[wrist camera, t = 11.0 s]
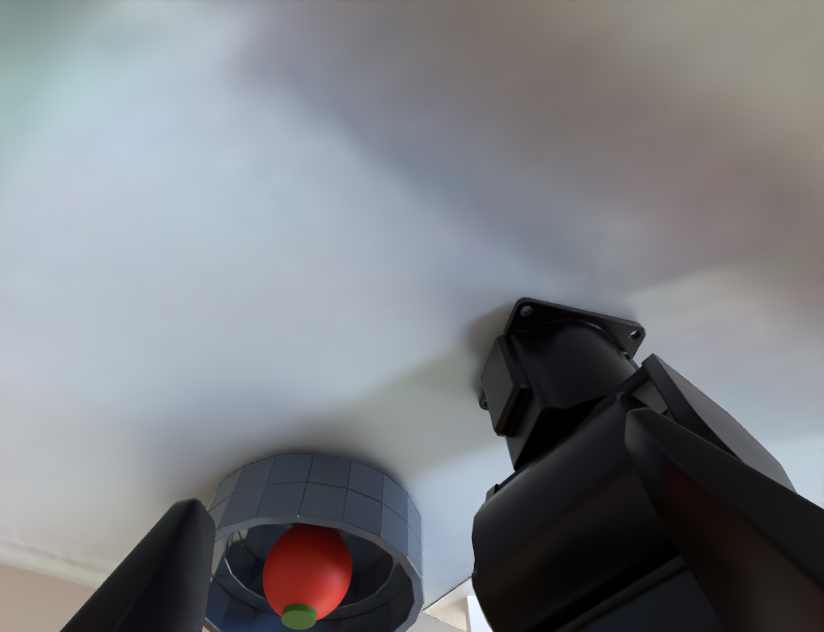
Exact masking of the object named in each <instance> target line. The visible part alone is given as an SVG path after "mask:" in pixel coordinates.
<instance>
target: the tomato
mask: <svg viewBox="0 0 824 632" xmlns="http://www.w3.org/2000/svg"><path fill="white" fill-rule="evenodd" d="M351 576H352V558H351V553H350V550H349V547H348V545H347V543H346V541H345V540H344V538H343V537H342V536H341V535H340V534H339V531H338V528H331V527H324V526H318V525H311V524H305V523H296V525H295V526H294V527H292V528H290V529H289V530H287V531H286V532H285V533H283V534H282V535H281V536H280V537H279V538H278V539H277V540H276V542H275V543H274V544H273V546H272V547H271V549H270V551H269V553H268V555H267V558H266V560H265V564H264V568H263V588H264V592H265V595H266V598H267V600H268V602H269V604H270V606H271V607H272V608H273V610H274V611H275V612H276V613H277V614H278V615H280V616H281V621H282V623H283V624H284V625H285V626H287V627H289V628H292V629H297V630H303V629H308V628H310V627H312V626H313V625H314V624H315V622H316V620H319V619H321V618H323V617H325V616H326V615H328V614H329V613H331V612H332V611H333V610H334V609H335V608H336V607H337V606H338V605H339V604H340V602H341V601H342V599H343V598H344V596H345V594H346V592H347V590H348V588H349V585H350V581H351Z"/></svg>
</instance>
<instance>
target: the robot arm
mask: <svg viewBox="0 0 824 632" xmlns="http://www.w3.org/2000/svg"><path fill="white" fill-rule="evenodd" d="M525 306H530V309H529V310H528V311H526V312H522V311H521V310H522V308H523V307H525ZM635 330H637V331H636V333H635V334H633V335H630V334H631V332H633V331H635ZM645 335H646V331H645V329H644V328H643V327H642V326H641V325H640V324H639V323H637V322H634V321H629V320H625V319H620V318H616V317H612V316H607V315H603V314H598V313H594V312H589V311H585V310H581V309H576V308H572V307H567V306H563V305H559V304H554V303H550V302H545V301H541V300H536V299H532V298H521V299H519V300H518V301H517V302H516V303H515V305H514V308H513V310H512V313H511V315H510V318H509V320H508V323H507V325H506V328H505V330H504V333H503V335H500V336H499V337H497V338H496V340H495V342H494V345H493V348H492V350H491V353H490V355H489V358H488V360H487V363H486V366H485V368H484V371H483V373H482V376H481V380H482V384H483V386H482V389H481V391H480V394H479V397H478V401H479V405H480V407H481V408H482V409H484V410H488V411H489V413H490V417H491V421H492V425H493V429H494V431H495V432H496V434H497V436H502V437H505V439H506V443H507V446H508V450H509V454H510V457H511V461H512V465H513V468H514V470H515V472H514V473H513V474H512V475H511V476H509V477H508V478H507V479H506V480H505V481H503V482H502V483H501V484H500V485H499V484H496V485H495V486H493V487H492V488H491V489H490V490H489V491H487V494H486V500H485V503H483V504H482V506H481V507H480V509H479V510H478V512H477V513H476V515H475V517H474V523H473V531H472V544H473V551H474V557H475V562H474V573H473V574H472V577H471V580H472V587H473V590H474V593H475V595H476V598H477V600H478V603H479V606H480V608H481V611H482V613H483V615H484V617H485V619H486V622H487V623H488V625H489V627H490V628H491V630H492V632H824V509H822V508H821V507H819V506H817V505H816V504H814V503H812V502H810V501H809V500H807V499H805V498H804V497H802V496H800V495H799V494H797V492H796V490H795V489H794V487H793V485H792V483H791V482H790V480H789V478H788V476H787V474H786V473H785V471H784V469H783V467H782V466H781V464H780V463H779V462H778V461H777V460H776V459H775V458H774V457H773V456H772V455H771V454H770V453H769V452H768V451H767V450H766V449H765V448H764V447H763V446H762V445H761V444H760V443H759V442H758V441H757V440H756V439H755V438H754V437H753V436H752V435H751V434H750V433H749V432H748V431H747V430H746V429H745V428H743V427H742V426H741V425H740V424H739V423H738V422H737V421H736V420H735V419H734V418H733V417H732V416H731V415H730V414H729V413H728V412H726V411H725V410H724V409H723V408H721V407H720V406H719V405H718V404H716V403H715V402H714V401H713V400H711V399H710V398H709V397H708V396H706V395H705V394H704V393H703V392H701V391H700V390H699V389H698V388H696V387H695V386H694V385H693V384H691V383H690V382H689V381H688V380H686V379H685V378H684V377H683V376H681V375H680V374H679V373H678V372H676V371H675V370H674V369H673V368H671V367H670V366H669V365H668V364H666V363H665V362H664V361H663V360H662V359H660V358H659V357H658V356H657V355H655V354H654V353H653V354H651V355H650V356H649V357H648V358H647V359H645V360H644V361H643V362H642V363H641V364H642V367H641V368H639V367H638V365H637V364H636V363H635V362H634V360H633V357H634V355H635V353H636V352H637V350H638V348H639V346H640V344H641V343H642V341H643V339H644V337H645ZM485 400H486V401H487V402H486V401H485ZM215 534H216V526H215V522H214V520H213V518H212V517H211V515H210V514H209V512H208V511H207V510H206V508H205V507H204V505H203V504H202V502H201V501H200V500H199V499H197V498H192V499H187V500H182V501H178V502H176V503H175V504H174V505H173V506H172V507H171V508H170V509H169V510H168V511H167V512H166V513H165V515H164V516H163V517H162V518H161V519H160V520H159V521H158V522H157V523H156V525H155V526H154V527H153V528H152V529H151V530H150V531H149V532H148V534H147V535H146V536H145V537H144V538H143V539H142V540H141V541H140V542H139V544H138V545H137V546H136V547H135V548H134V549H133V550H132V551H131V553H130V554H129V555H128V556H127V557H126V558H125V559H124V560H123V561H122V563H121V564H120V565H119V566H118V567H117V568H116V569H115V570H114V572H113V573H112V574H111V575H110V576H109V577H108V578H107V579H106V580H105V582H104V583H103V584H102V585H101V586H100V587H99V588H98V589H97V591H96V592H95V593H94V594H93V595H92V596H91V597H90V599H88V601H87V602H86V603H85V604H84V605H83V606H82V607H81V608H80V610H79V611H78V612H77V613H76V614H75V615H74V616H73V617H72V619H71V620H70V621H69V622H68V623H67V624H66V625H65V627H63V629H62V630H61V631H60V632H202V628H203V623H204V618H205V613H206V608H207V601H208V594H209V585H210V577H211V568H212V560H213V551H214V543H215Z"/></svg>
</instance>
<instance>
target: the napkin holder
mask: <svg viewBox="0 0 824 632" xmlns="http://www.w3.org/2000/svg"><path fill="white" fill-rule="evenodd" d="M423 612H424V613H426V614H428V615H430V616H432V617H435V618H436V619H439V620H441V621H443V622H445V623H448V624H450V625H452V626H454V627H456V628H458V629H460V630H463V631H465V632H492V630H491V628H490V627H489V625H488V623H487V622H486V619H485V617H484V615H483V613H482V611H481V608H480V606H479V603H478V600H477V598H476V595H475V593H474V590H473V587H472V580H471V578H470V579H468V580H467V581H466V582H464V583H463V584H461V585H460V586H458V587H457V588H456V589H454V590H453V591H451V592H450V593H449V594H447V595H446V596H444V597H443V598H441V599H440V600H439V601H437V602H436V603H434V604H433V605H431V606H430V607H429V608H427V609H426V610H424V611H423ZM436 621H438V620H436Z"/></svg>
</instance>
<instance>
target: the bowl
mask: <svg viewBox="0 0 824 632" xmlns="http://www.w3.org/2000/svg"><path fill="white" fill-rule="evenodd" d="M206 510H207V511H208V512H209V514H210V515H211V517H212V518H213V520H214V522H215V526H216V534H215V543H214V551H213V560H212V568H211V577H210V585H209V594H208V601H207V608H206V613H205V618H204V623H203V626H204V627H205V628H207V629H208V630H209V631H210V632H405V631H407V630H408V629H409V628H410V627H411V626H412V625H413V624H414V623H415V622H416V619H417V617H418V615H419V613H420V610H421V608H422V606H423V604H424V600H425V597H424V567H423V537H422V526H421V516H420V514H419V512H418V510H417V509H416V507H415V505H414V503H413V502H412V500H411V498H410V497H409V495H408V493H407V492H406V491H404V490H403V489H402V488H401V487H400V486H398V485H397V484H396V483H395V482H393V481H392V480H391V479H390V478H388V477H387V476H386V475H385V474H383V473H382V472H379V471H377V470H375V469H372V468H370V467H368V466H365V465H363V464H361V463H358V462H356V461H354V460H350V459H344V458H338V457H332V456H326V455H320V454H314V453H308V454H292V455H278V456H274V457H271V458H268V459H265V460H262V461H259V462H256V463H253V464H249V465H246V466H244V467H242V468H241V469H240V470H238V471H237V472H235V473H234V474H233V475H231V476H230V477H229V478H227V479H226V480H224V481H223V482H222V483H221V484H220V485H219V487H218V489H217V490H216V492H215V494H214V495H213V497H212V499H211V500H210V502H209V504H208V506H207V508H206ZM296 523H305V524H311V525H318V526H324V527H331V528H338V531H339V534H340V535H341V536H342V537H343V538H344V540H345V541H346V543H347V545H348V547H349V550H350V553H351V558H352V576H351V581H350V585H349V588H348V590H347V592H346V594H345V596H344V598H343V599H342V601H341V602H340V604H339V605H338V606H337V607H336V608H335V609H334V610H333V611H332V612H331V613H329V614H328V615H326V616H325V617H323V618H321V619H319V620H316V622H315V624H314V625H313V626H312V627H310V628H308V629H303V630H297V629H292V628H289V627H287V626H285V625H284V624H283V623H282V621H281V616H280V615H278V614H277V613H276V612H275V611H274V610H273V608H272V607H271V606H270V604H269V602H268V600H267V598H266V595H265V592H264V588H263V568H264V564H265V560H266V558H267V555H268V553H269V551H270V549H271V547H272V546H273V544H274V543H275V542H276V540H277V539H278V538H279V537H280V536H281V535H282V534H283V533H285V532H286V531H287V530H289V529H290V528H292V527H294V526H295V525H296Z"/></svg>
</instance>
